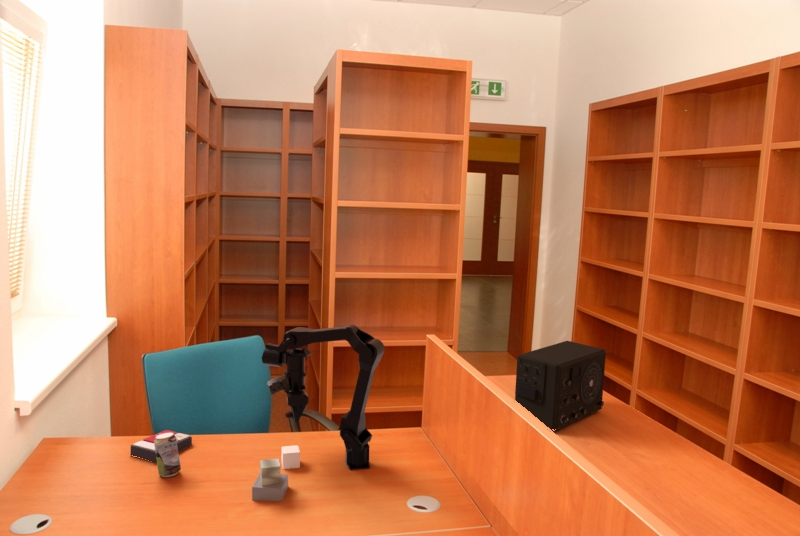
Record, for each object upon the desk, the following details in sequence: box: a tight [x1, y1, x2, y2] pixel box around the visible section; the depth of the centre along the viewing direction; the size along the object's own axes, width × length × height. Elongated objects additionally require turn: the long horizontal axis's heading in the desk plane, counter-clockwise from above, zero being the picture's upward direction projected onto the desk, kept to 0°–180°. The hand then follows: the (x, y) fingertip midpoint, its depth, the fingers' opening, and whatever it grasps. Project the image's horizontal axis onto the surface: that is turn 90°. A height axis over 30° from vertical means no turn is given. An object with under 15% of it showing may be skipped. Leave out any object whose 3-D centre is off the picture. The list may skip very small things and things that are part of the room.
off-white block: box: [280, 445, 301, 470], centre depth 185 cm, size 5×5×5 cm
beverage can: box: [154, 432, 182, 478], centre depth 176 cm, size 6×7×12 cm
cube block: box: [259, 457, 282, 486], centre depth 167 cm, size 5×5×5 cm
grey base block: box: [251, 473, 289, 502], centre depth 168 cm, size 8×8×4 cm
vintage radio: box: [514, 340, 607, 431], centre depth 229 cm, size 38×20×25 cm, turn 134°
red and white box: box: [130, 429, 193, 464], centre depth 192 cm, size 11×4×15 cm
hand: (294, 416), depth 192 cm, fingers open, 9 cm apart
